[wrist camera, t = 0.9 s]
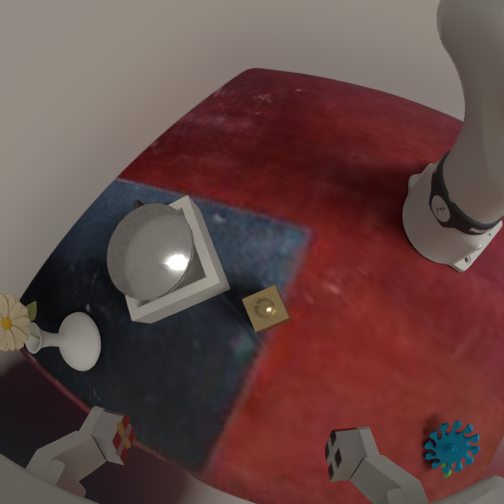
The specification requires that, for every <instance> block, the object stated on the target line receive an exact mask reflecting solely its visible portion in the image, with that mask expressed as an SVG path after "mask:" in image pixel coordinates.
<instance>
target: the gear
mask: <svg viewBox="0 0 504 504" xmlns="http://www.w3.org/2000/svg"><path fill="white" fill-rule="evenodd" d="M461 424H462V423H461V422H460V421H457V420H456V421H455V423H454V424H453V430H452V431H451V433H446V429H447V428H448V426H449V424H448V423H443V424H442V425H441V426H440V430H441V432H442V438H438V431H437V430H434V431H433V432H432V433H431V434H430V435H429V436H430V438H432V439H434V440H435V442H436V445H437V446H434V445H433V443H432V441H430V440H429V441H428V442H427V443H426V445H425V447H424V448H425V449H431V450H433V451H435V452H436V454H434V453H432V452H428V453H427V454H426V460H430V459H433V458H437V459H440V461H434V462H433V463H432V467H433V468H434V469H436V468H437V467H438V466H439V465H440V464H441V467H442V468H443V469H442V472H444V473H445V474H444V478H448V477H449V475H450V474H451V472H452V471H451V470H450V469H451V468H452V466H453V465H454V462H456V463H457V465H456V467H455V468H454V471H455V472H458V471H461V469H462V467H463V466H462V464H461V459H462V458H465V459H466V462H465V465H466V466H468V465H470V464H471V463H472V462H473V460H474V459H473V458H472V457H470V456H469V455H468V452H467V450H471V452H472V454H473V455H476V454H477V453H478V451H479V449H480V447H479V446H472V445H470V444H469V443H468V441H471V442H473V443H477V442H478V440H479V434H475V435H473V436H471V437H465V436H464V435H463V434H465V433H466V434H469V433H471V432H472V430H473V427H472V426H471V425H470V424H469V425H467V427H466V428H465V429H464V430H463V431H461V432H459V433H457V432H456V431H455V430H456V429H459V428H460V426H461Z"/></svg>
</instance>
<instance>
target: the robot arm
mask: <svg viewBox="0 0 504 504" xmlns="http://www.w3.org/2000/svg"><path fill="white" fill-rule="evenodd" d="M437 27H438V32H439V36H440V40H441V42H442V45H443V47H444V48H445V50H446V51H447V53H448V54H449V56H450V58H451V60H452V61H453V63H454V65H455V67H456V70H457V72H458V75H459V78H460V81H461V85H462V89H463V94H464V101H465V117H464V123H463V126H462V129H461V131H460V133H459V136H458V138H457V140H456V142H455V144H454V145H453V147H452V149H451V150H449V151H448V152H447V153H446V154H445V155H444V156H443V157H442V158H441V159H440V160H439V161H438V162H437V163H435V164H432V163H430V164H429V165H428V166H427V167H426V168H425V170H424V171H423V172H422V173H420V174H415V175H412V176H411V177H410V178H409V180H408V196H407V198H406V200H405V203H404V206H403V214H402V216H403V225H404V229H405V232H406V234H407V236H408V238H409V240H410V242H411V243H412V245H413V246H414V247H415V249H416V250H417V251H418V252H419V253H420V254H422V255H423V256H424V257H426V258H427V259H429V260H431V261H434V262H437V263H442V264H447V265H450V266H451V267H453V268H454V269H455V270H457V271H459V272H464V271H465V270H466V269H467V268H468V267H469V266H470V265H471V264H472V263H473V262H474V260H475V259H476V258H477V257H478V256H479V255H480V253H481V252H482V251H483V250H484V248H485V247H486V246H487V245H488V244H489V242H490V241H491V240H492V238H493V237H494V236H495V235H496V233H497V232H498V231H499V229H500V228H501V226H502V218H503V217H504V0H441V1H440V3H439V6H438V10H437ZM465 259H466V260H467V262H466V261H465ZM129 421H130V419H129V416H128V415H126V414H122V413H118V412H115V411H111V410H107V409H104V408H100V407H97V406H95V407H93V408H92V410H91V411H90V413H89V415H88V417H87V418H86V420H85V422H84V423H83V425H82V427H81V429H80V431H79V432H78V431H75V432H73V433H71V434H69V435H67V436H65V437H63V438H61V439H59V440H57V441H55V442H52V443H50V444H48V445H46V446H44V447H42V448H40V449H38V450H37V451H36V453H35V454H34V456H33V458H32V459H31V461H30V463H29V464H28V466H27V468H26V469H24V468H22V467H20V466H19V465H17V464H16V463H14V462H12V461H11V460H9V459H8V458H6V457H5V456H3V455H2V454H0V504H99V503H96V502H93V501H90V500H88V499H85V498H84V495H85V493H86V491H85V489H84V488H83V487H82V485H81V484H80V483H79V482H78V481H80V480H81V479H82V478H84V477H85V476H87V475H88V474H89V473H91V472H92V471H93V470H95V469H96V468H98V467H99V466H100V465H102V464H103V463H104V462H106V460H108V461H111V462H114V463H118V464H122V465H124V464H125V461H126V458H127V456H128V451H127V448H129V447H130V446H131V445H132V443H133V439H134V430H133V427H132V426H131V425H130V424H129ZM330 438H331V439H330V440H328V441H327V444H326V448H325V457H326V461H327V462H328V463H329V464H330V466H329V468H328V473H329V478H330V482H332V481H342V480H350V481H351V482H352V483H353V484H354V485H355V486H356V487H357V488H358V489H359V490H360V491H361V492H362V493H363V494H364V495H365V496H366V497H367V498H368V499H369V500H370V501H371V502H372V503H373V504H504V479H503V478H501V477H498V476H496V475H492V476H489V477H487V478H485V479H483V480H481V481H479V482H477V483H475V484H473V485H471V486H469V487H467V488H465V489H463V490H460V491H458V492H456V493H454V494H451V495H449V496H447V497H444V498H442V499H439V500H437V501H434V502H432V503H428V500H427V497H426V495H425V492H424V489H423V487H422V484H421V482H420V481H419V480H418V479H416V478H415V477H413V476H412V475H410V474H409V473H408V472H406V471H405V470H403V469H402V468H400V467H399V466H398V465H396V464H395V463H393V462H392V461H391V460H389V459H388V458H386V457H385V456H384V455H379V452H378V449H377V447H376V444H375V441H374V438H373V436H372V433H371V430H370V428H369V427H368V426H365V427H358V428H346V429H337V430H332V431H331V434H330Z"/></svg>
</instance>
